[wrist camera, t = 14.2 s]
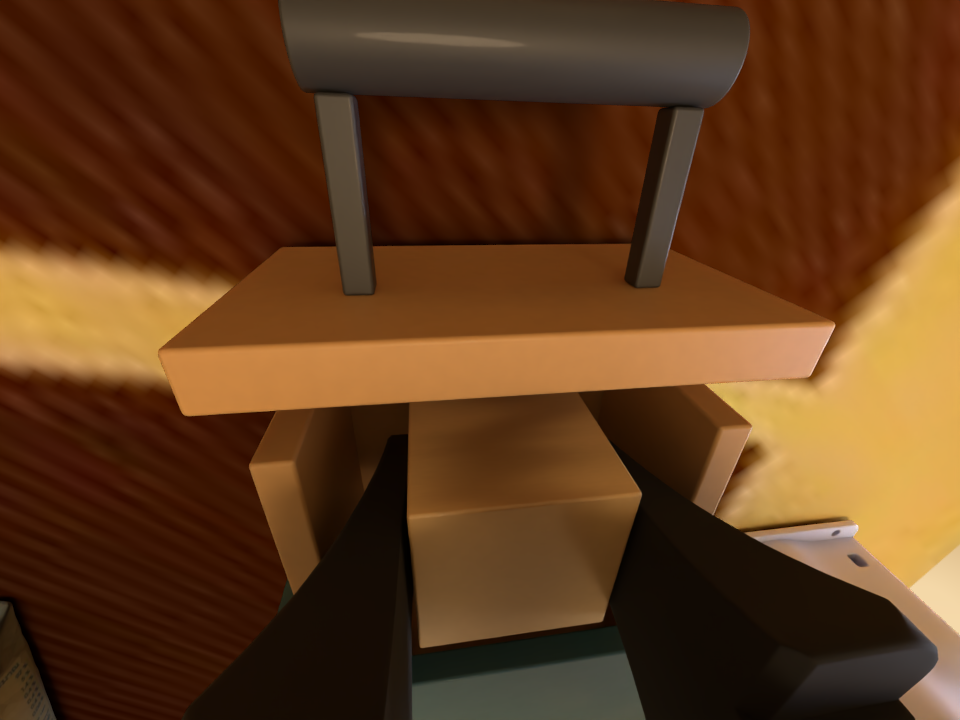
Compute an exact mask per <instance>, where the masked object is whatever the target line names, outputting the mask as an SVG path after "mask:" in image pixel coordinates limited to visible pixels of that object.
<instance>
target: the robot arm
mask: <svg viewBox="0 0 960 720" xmlns="http://www.w3.org/2000/svg"><path fill="white" fill-rule="evenodd" d="M607 439H608V438H607ZM608 440H609V439H608ZM609 442H610V444H611V445H612V447H613V448H614V450H615V451H616V453H617V455H618V456H619V458H620V459H621V461H622V462H623V464H624V466H625V467H626V469H627V470H628V472H629V473H630V475H631V477H632V478H633V480H634V481H635V483H636V484H637V486H638V488H639V489H640V491H641V493H642V497H641V500H640V503H639V506H638V510H637V513H636V516H635V519H634V522H633V526H632V529H631V532H630V535H629V538H628V542H627V545H626V548H625V551H624V554H623V558H622V561H621V564H620V567H619V570H618V573H617V577H616V580H615V583H614V586H613V589H612V593H611V596H610V599H609V604H610V607H611V610H612V613H613V616H614V619H615V622H616V625H617V628H618V631H619V633H620V637H621V640H622V643H623V646H624V649H625V652H626V656H627V659H628V662H629V665H630V668H631V671H632V675H633V678H634V681H635V685H636V688H637V692H638V695H639V698H640V702H641V705H642V709H643V712H644V715H645V719H646V720H960V635H959V634H958V633H957V632H956V631H955V630H954V629H953V628H951V627H950V626H949V625H948V624H947V623H946V622H945V621H944V620H943V619H942V618H941V617H939V616H938V615H937V614H936V613H935V612H934V611H933V610H932V609H931V608H930V607H929V606H927V605H926V604H925V603H924V602H923V601H922V600H921V599H920V598H919V597H918V596H917V595H916V594H914V593H913V592H912V591H911V590H910V589H909V588H908V587H907V586H906V585H905V584H903V583H902V582H901V581H900V580H899V579H898V578H897V577H896V576H895V575H894V574H893V573H891V572H890V571H889V570H888V569H887V568H886V567H885V566H884V565H883V564H882V563H881V562H879V561H878V560H877V559H876V558H875V557H874V556H873V555H872V554H871V553H870V552H869V551H867V550H866V549H865V548H864V547H863V546H862V545H861V544H860V543H859V542H858V541H856V540H855V539H854V538H853V536H854V535H855V533H856V532H857V530H858V525H857V524H856V523H854V522H853V521H852V520H846V521H837V522H829V523H821V524H812V525H804V526H795V527H787V528H779V529H770V530H762V531H753V532H745V533H743V532H741V531H739V530H738V529H736V528H734V527H732V526H730V525H729V524H727V523H725V522H724V521H722V520H720V519H718V518H717V517H715V516H713V515H712V514H710V513H709V512H707V511H705V510H704V509H702V508H701V507H699V506H698V505H696V504H694V503H693V502H691V501H690V500H688V499H687V498H685V497H684V496H682V495H681V494H679V493H678V492H676V491H675V490H674V489H672V488H671V487H669V486H668V485H667V484H665V483H664V482H662V481H661V480H660V479H658V478H657V477H656V476H654V475H653V474H652V473H650V472H649V471H648V470H646V469H645V468H644V467H642V466H641V465H640V464H639V463H637V462H636V461H635V460H634V459H632V458H631V457H630V456H629V455H627V454H626V453H625V452H624V451H622V450H621V449H620V448H619V447H618V446H616V445H615V444H614V443H613V442H612V441H610V440H609ZM407 475H408V434H400V435H391V436H390V437H389V438H388V440H387V443H386V446H385V449H384V452H383V454H382V457H381V459H380V461H379V464H378V466H377V468H376V470H375V472H374V474H373V476H372V478H371V480H370V482H369V484H368V486H367V488H366V490H365V492H364V494H363V496H362V497H361V499H360V501H359V503H358V504H357V506H356V508H355V509H354V511H353V513H352V514H351V516H350V518H349V519H348V521H347V523H346V524H345V526H344V527H343V529H342V530H341V532H340V534H339V535H338V537H337V538H336V540H335V541H334V542H333V544H332V545H331V547H330V548H329V550H328V551H327V552H326V554H325V555H324V557H323V558H322V559H321V561H320V562H319V563H318V565H317V566H316V567H315V569H314V570H313V571H312V572H311V574H310V575H309V576H308V578H307V579H306V580H305V582H304V583H303V584H302V585H301V587H300V588H299V589H298V590H297V592H296V593H295V594H294V595H293V596H292V598H291V599H290V600H289V601H288V602H287V604H286V605H285V606H284V607H283V608H282V609H281V610H280V611H279V613H278V614H277V615H276V616H275V617H274V618H273V619H272V620H271V622H270V623H269V624H268V625H267V626H266V627H265V628H264V629H263V631H262V632H261V633H260V634H259V635H258V636H257V637H256V638H255V640H254V641H253V642H252V643H251V644H250V645H249V646H248V647H247V648H246V649H245V650H244V651H243V652H242V653H241V654H240V655H239V656H238V657H237V658H236V659H235V660H234V662H233V663H232V664H231V665H230V666H229V667H228V668H227V669H226V670H225V671H224V672H223V673H222V674H221V675H220V676H219V677H218V678H217V679H216V680H215V681H214V682H213V683H212V684H211V685H210V686H209V687H208V688H207V689H206V690H205V691H204V692H203V693H202V694H201V695H200V696H199V697H198V698H197V699H196V700H195V701H194V702H193V703H192V704H191V705H190V706H189V707H188V708H187V710H186V712H185V714H184V716H183V718H182V719H181V720H412V602H413V589H414V588H413V577H412V567H411V557H410V546H409V536H408V526H407Z"/></svg>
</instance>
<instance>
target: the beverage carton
mask: <svg viewBox="0 0 960 720" xmlns="http://www.w3.org/2000/svg"><path fill="white" fill-rule="evenodd" d="M0 720H56V718H55V715H54V713H53V710H52V707H51V704H50V701H49V699H48V697H47V694H46V692H45V689H44V686H43V683H42V680H41V677H40V674H39V671H38V668H37V667H36V665H35V662H34V659H33V656H32V653H31V651H30V648H29V645H28V643H27V641H26V639H25V638H24V636H23V634H22V633H21V627H20V625H19V623H18V620H17V618H16V616H15V613H14V609H13V605H12V603H11V602H8V601H0Z"/></svg>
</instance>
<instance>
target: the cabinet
mask: <svg viewBox="0 0 960 720" xmlns="http://www.w3.org/2000/svg"><path fill="white" fill-rule="evenodd" d="M292 596H293V592H292V589H291V587H290V584H289V581H288V578H287V582H286V585H285V589H284V592H283V596H282V599H281V603H280V606H279V610H278V613H279V611H280V610H281V609H282V608H283V607H284V606H285V605H286V604H287V602H288V601H289V600H290V599H291V598H292ZM278 613H277V614H278ZM412 720H646V719H645V715H644V712H643V709H642V705H641V702H640V698H639V695H638V692H637V688H636V685H635V681H634V678H633V675H632V671H631V668H630V665H629V662H628V659H627V656H626V652H625V649H624V646H623V643H622V640H621V637H620V633H619V631H618V628H617V625H616V626H609V627H602V628H595V629H588V630H581V631H575V632H568V633H561V634H554V635H547V636H541V637H534V638H527V639H520V640H513V641H507V642H500V643H493V644H486V645H479V646H472V647H466V648H459V649H452V650H445V651H438V652H432V653H425V654H418V655H412Z"/></svg>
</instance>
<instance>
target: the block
mask: <svg viewBox="0 0 960 720" xmlns="http://www.w3.org/2000/svg"><path fill="white" fill-rule="evenodd" d="M641 497H642V493H641V491H640V489H639V488H638V486H637V484H636V483H635V481H634V480H633V478H632V477H631V475H630V473H629V472H628V470H627V469H626V467H625V466H624V464H623V462H622V461H621V459H620V458H619V456H618V455H617V453H616V451H615V450H614V448H613V447H612V445H611V444H610V442H609V440H608V439H607V437H606V436H605V434H604V433H603V431H602V430H601V428H600V426H599V425H598V423H597V422H596V420H595V419H594V417H593V415H592V414H591V412H590V411H589V409H588V408H587V406H586V404H585V403H584V401H583V400H582V398H581V397H580V395H579V393H578V392H567V393H551V394H535V395H519V396H503V397H487V398H471V399H455V400H439V401H423V402H409V425H408V475H407V526H408V536H409V546H410V557H411V567H412V577H413V588H414V598H415V608H416V618H417V629H418V639H419V646H420V648H426V647H433V646H440V645H447V644H453V643H460V642H467V641H474V640H481V639H488V638H495V637H501V636H508V635H515V634H522V633H529V632H536V631H543V630H549V629H556V628H563V627H570V626H577V625H584V624H591V623H597V622H602V621H603V618H604V615H605V612H606V609H607V605H608V602H609V599H610V596H611V593H612V589H613V586H614V583H615V580H616V577H617V573H618V570H619V567H620V564H621V561H622V558H623V554H624V551H625V548H626V545H627V542H628V538H629V535H630V532H631V529H632V526H633V522H634V519H635V516H636V513H637V510H638V506H639V503H640V500H641Z"/></svg>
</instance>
